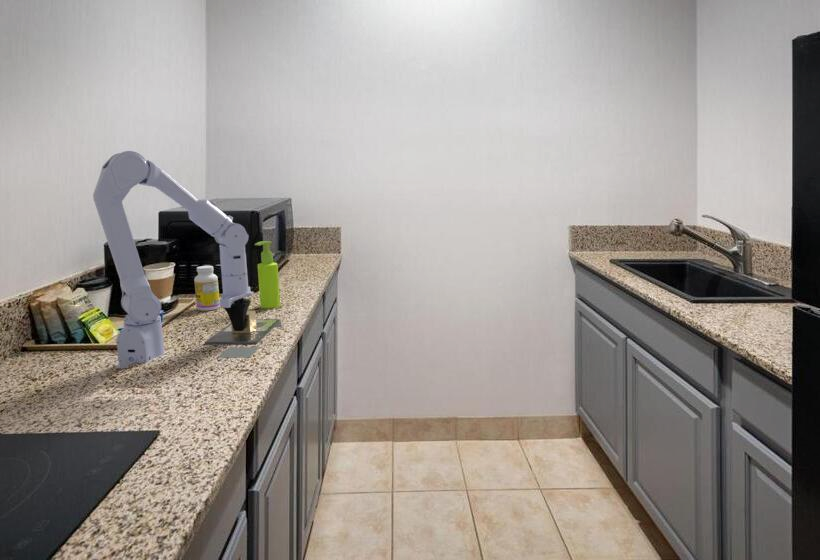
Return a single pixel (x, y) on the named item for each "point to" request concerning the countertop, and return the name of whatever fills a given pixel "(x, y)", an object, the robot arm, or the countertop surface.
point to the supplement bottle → (206, 289)
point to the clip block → (248, 323)
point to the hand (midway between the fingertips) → (239, 330)
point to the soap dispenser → (268, 278)
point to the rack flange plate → (245, 338)
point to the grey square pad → (238, 352)
